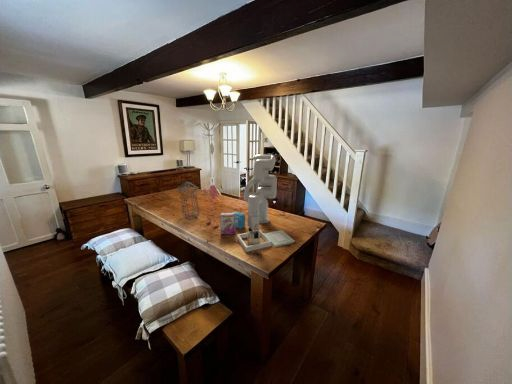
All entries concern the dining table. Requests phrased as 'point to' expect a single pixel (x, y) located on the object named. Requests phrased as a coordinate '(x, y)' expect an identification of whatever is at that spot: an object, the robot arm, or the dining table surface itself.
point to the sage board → (279, 238)
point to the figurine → (213, 193)
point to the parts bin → (256, 246)
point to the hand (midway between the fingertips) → (253, 235)
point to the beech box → (252, 238)
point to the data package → (239, 220)
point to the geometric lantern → (189, 197)
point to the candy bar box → (227, 223)
